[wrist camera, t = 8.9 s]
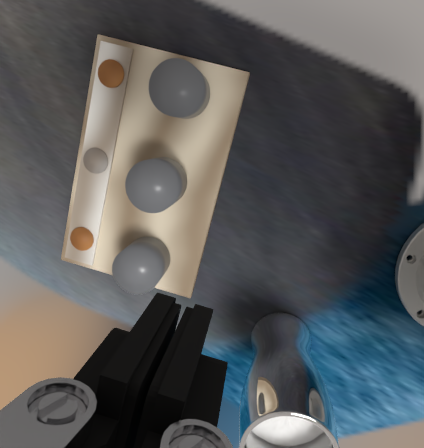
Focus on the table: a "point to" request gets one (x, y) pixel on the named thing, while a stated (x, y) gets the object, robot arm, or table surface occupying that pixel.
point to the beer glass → (285, 390)
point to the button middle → (155, 184)
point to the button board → (143, 150)
